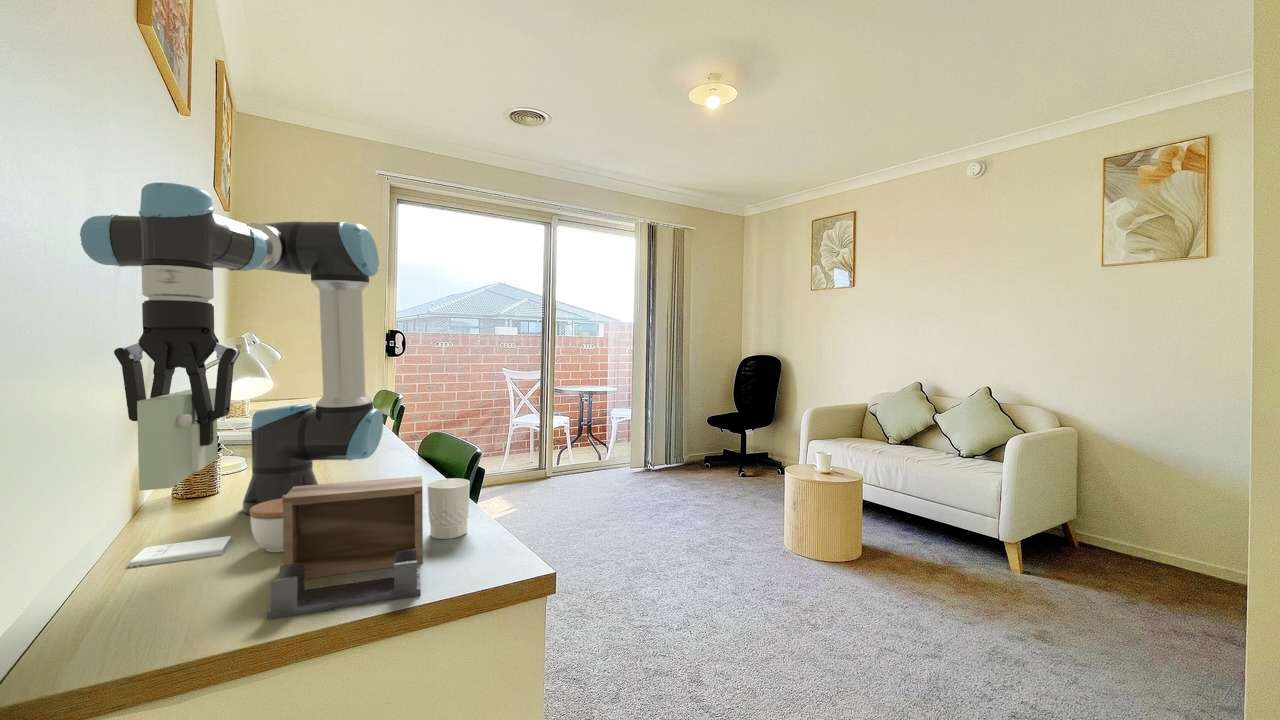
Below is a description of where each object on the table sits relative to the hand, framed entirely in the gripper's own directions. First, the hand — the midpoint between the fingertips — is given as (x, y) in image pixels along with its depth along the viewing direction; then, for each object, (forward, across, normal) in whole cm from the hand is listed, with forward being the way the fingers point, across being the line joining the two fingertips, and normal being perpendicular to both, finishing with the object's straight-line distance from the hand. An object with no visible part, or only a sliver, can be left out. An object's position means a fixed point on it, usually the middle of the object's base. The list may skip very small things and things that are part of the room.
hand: (182, 470), depth 75 cm
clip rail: (+19, +21, -5) cm, 29 cm away
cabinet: (+19, +21, +9) cm, 30 cm away
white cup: (+20, +36, +19) cm, 45 cm away
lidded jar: (+20, +8, +23) cm, 31 cm away
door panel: (0, 0, 0) cm, 1 cm away
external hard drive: (+20, -8, +26) cm, 34 cm away
